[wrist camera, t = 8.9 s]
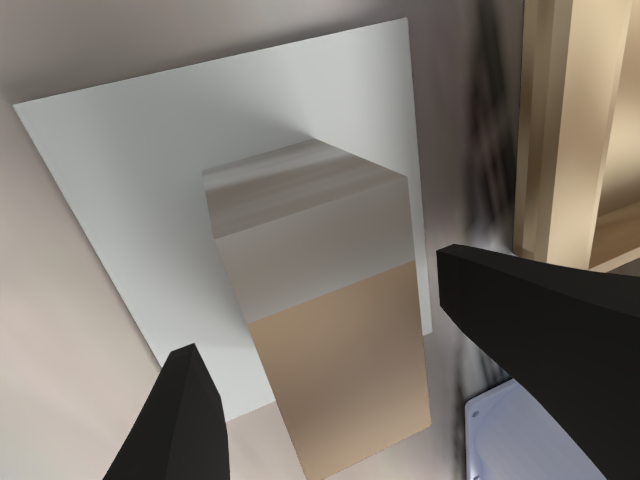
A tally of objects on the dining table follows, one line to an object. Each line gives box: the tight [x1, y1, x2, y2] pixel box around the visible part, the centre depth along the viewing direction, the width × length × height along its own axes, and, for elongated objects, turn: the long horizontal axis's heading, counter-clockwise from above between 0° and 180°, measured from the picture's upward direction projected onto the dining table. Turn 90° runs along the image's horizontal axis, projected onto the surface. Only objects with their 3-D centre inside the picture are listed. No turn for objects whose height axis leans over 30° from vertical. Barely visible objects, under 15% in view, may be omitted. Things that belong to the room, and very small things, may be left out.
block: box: [202, 139, 431, 480], centre depth 11 cm, size 8×4×6 cm, turn 12°
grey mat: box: [12, 17, 433, 423], centre depth 14 cm, size 14×12×1 cm
